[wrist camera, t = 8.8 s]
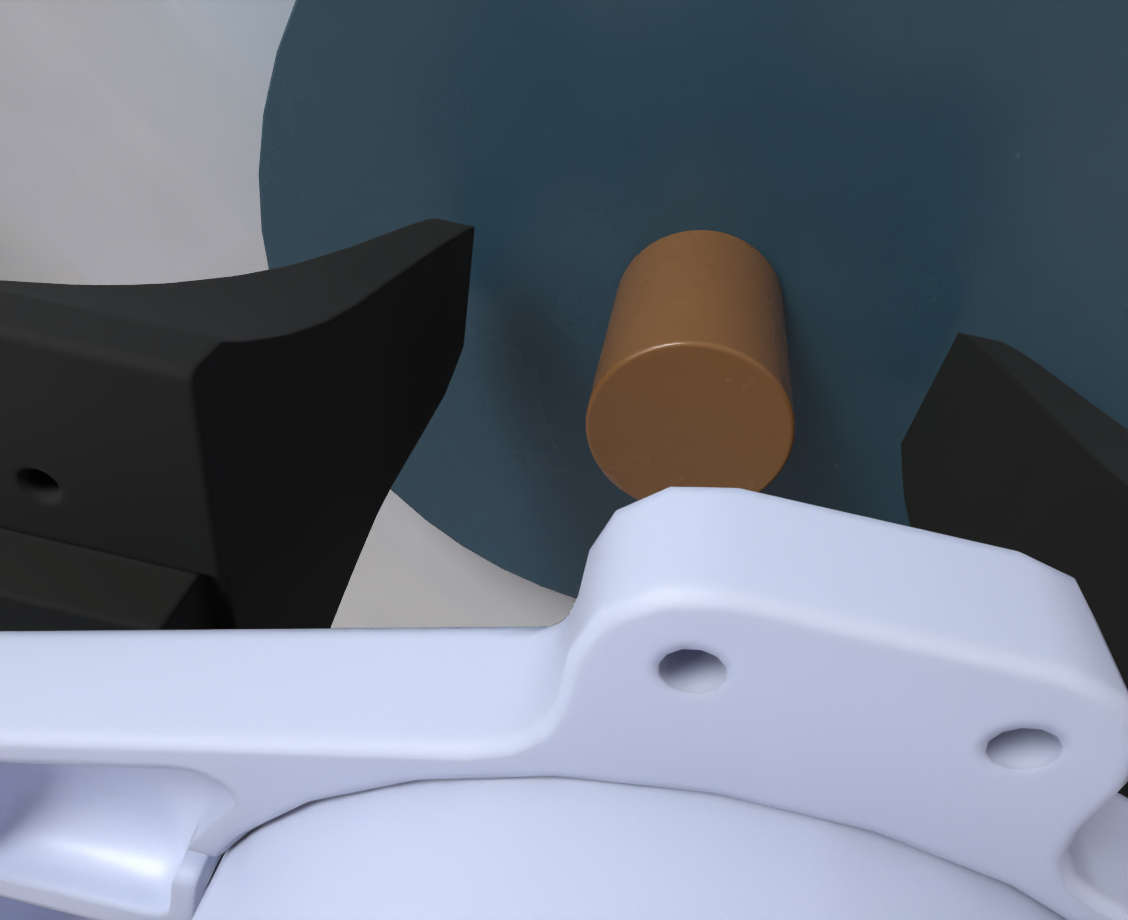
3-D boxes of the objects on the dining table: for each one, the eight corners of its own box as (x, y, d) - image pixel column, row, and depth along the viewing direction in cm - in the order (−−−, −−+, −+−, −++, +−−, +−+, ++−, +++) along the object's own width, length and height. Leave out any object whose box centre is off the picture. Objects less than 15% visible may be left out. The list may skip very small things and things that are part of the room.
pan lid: (787, -726, 8) (831, -1202, 4) (1380, 313, 13) (1643, 510, 9) (145, 248, 15) (-36, 378, 12) (665, 669, 20) (651, 854, 16)
